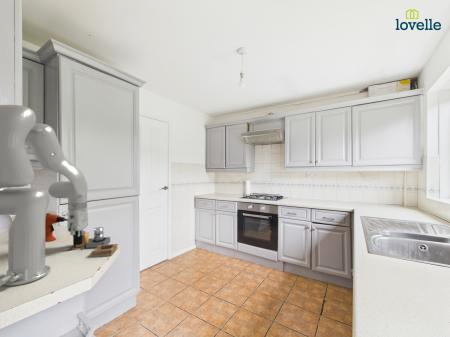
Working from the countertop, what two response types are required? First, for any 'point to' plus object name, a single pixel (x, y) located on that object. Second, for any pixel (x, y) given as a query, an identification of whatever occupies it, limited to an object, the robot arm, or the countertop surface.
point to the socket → (97, 243)
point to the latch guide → (75, 245)
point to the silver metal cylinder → (98, 234)
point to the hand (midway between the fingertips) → (77, 244)
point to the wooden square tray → (104, 250)
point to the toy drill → (51, 226)
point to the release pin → (84, 239)
